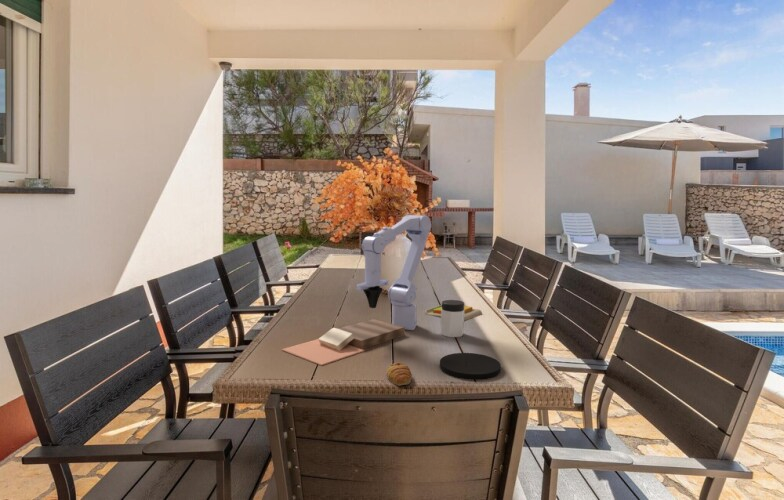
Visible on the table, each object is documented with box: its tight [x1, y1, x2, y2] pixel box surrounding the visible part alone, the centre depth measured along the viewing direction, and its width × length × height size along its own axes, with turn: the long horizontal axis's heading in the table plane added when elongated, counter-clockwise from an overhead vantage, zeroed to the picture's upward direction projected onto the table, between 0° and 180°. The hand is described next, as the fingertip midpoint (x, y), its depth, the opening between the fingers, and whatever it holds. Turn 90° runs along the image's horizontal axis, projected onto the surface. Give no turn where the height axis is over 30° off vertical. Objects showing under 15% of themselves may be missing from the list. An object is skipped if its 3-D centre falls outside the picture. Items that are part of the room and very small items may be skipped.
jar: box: [440, 299, 465, 338], centre depth 174 cm, size 9×8×12 cm
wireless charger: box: [439, 352, 502, 381], centre depth 141 cm, size 18×18×2 cm
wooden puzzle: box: [424, 304, 483, 322], centre depth 204 cm, size 17×19×4 cm
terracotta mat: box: [281, 338, 365, 366], centre depth 154 cm, size 18×20×1 cm
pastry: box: [385, 362, 413, 387], centre depth 131 cm, size 9×7×4 cm
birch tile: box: [318, 327, 354, 350], centre depth 159 cm, size 7×10×2 cm
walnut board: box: [337, 318, 406, 350], centre depth 169 cm, size 22×16×3 cm
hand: (372, 307), depth 170 cm, fingers closed
